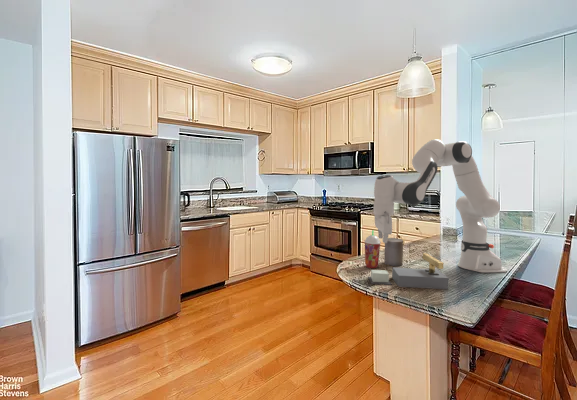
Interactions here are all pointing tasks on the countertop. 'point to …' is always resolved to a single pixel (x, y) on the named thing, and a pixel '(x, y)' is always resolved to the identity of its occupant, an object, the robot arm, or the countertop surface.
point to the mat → (379, 282)
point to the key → (432, 262)
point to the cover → (379, 276)
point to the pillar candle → (393, 252)
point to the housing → (419, 278)
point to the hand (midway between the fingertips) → (382, 240)
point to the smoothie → (372, 251)
